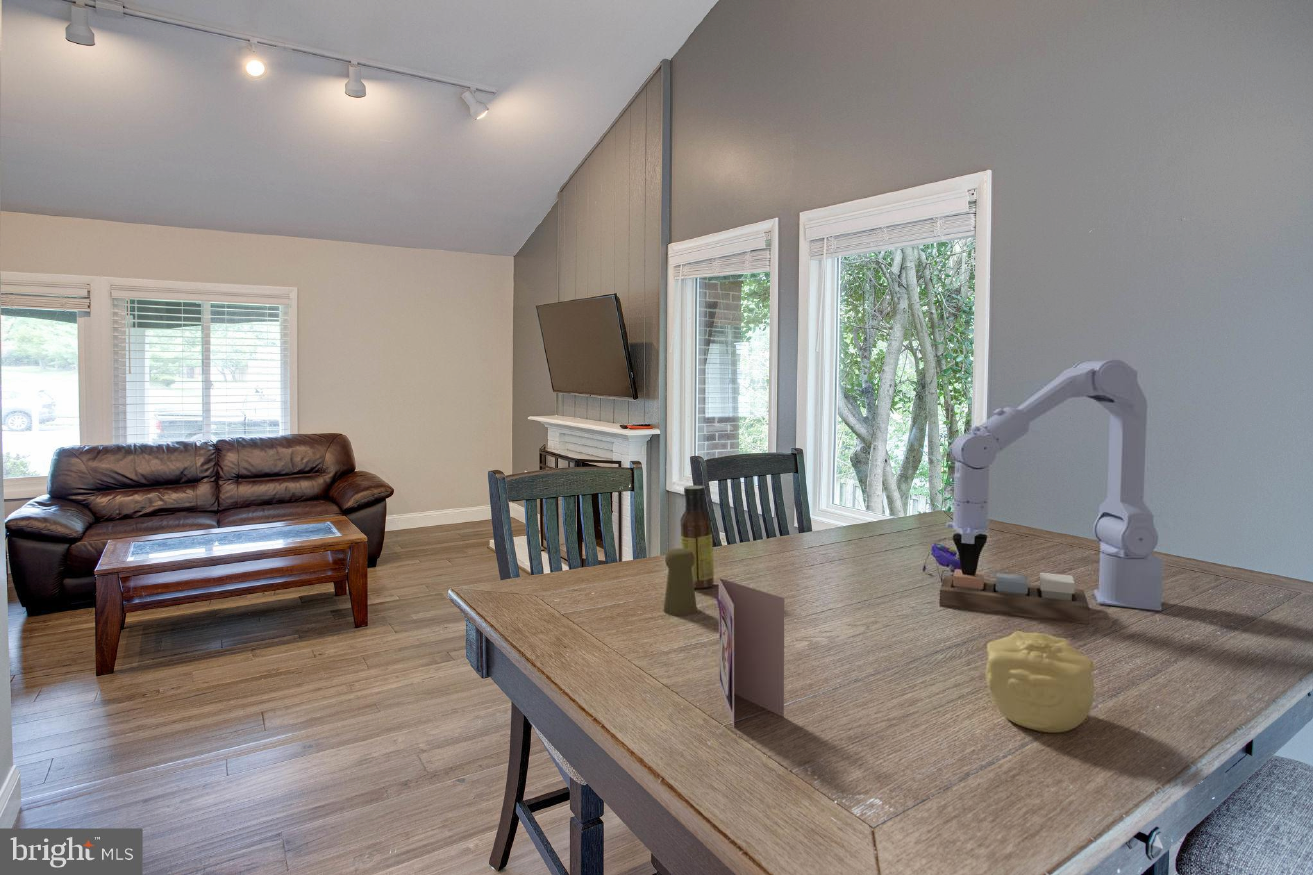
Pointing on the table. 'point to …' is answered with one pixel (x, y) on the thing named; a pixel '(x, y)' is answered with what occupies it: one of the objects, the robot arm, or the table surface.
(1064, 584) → the ivory key
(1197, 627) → the table surface
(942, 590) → the brown long flat frame
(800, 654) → the table surface
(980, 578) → the terracotta key
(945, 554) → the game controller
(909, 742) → the table surface
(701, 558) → the sauce bottle
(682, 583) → the cork
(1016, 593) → the slate key
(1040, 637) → the sculpture
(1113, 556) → the robot arm
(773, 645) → the greeting card
